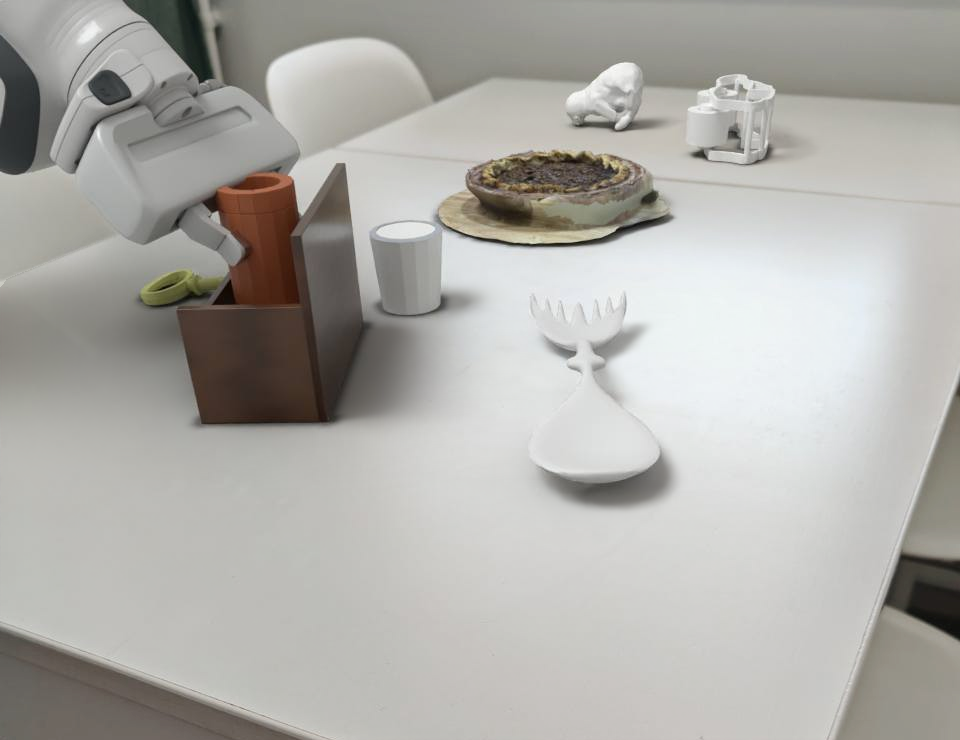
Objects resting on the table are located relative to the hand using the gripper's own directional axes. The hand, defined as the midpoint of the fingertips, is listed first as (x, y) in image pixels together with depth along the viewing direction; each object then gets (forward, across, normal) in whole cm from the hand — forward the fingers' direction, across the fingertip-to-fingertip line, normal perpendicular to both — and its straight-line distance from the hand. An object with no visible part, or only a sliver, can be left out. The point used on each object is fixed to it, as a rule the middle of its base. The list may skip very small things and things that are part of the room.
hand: (270, 244), depth 79 cm
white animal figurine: (+4, -95, -11) cm, 96 cm away
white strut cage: (+20, -88, +4) cm, 90 cm away
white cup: (+9, -17, -6) cm, 21 cm away
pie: (+10, -51, -5) cm, 53 cm away
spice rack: (+7, 0, -8) cm, 10 cm away
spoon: (+26, -3, +10) cm, 28 cm away
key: (-6, -13, -21) cm, 26 cm away
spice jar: (+3, 0, -4) cm, 6 cm away
